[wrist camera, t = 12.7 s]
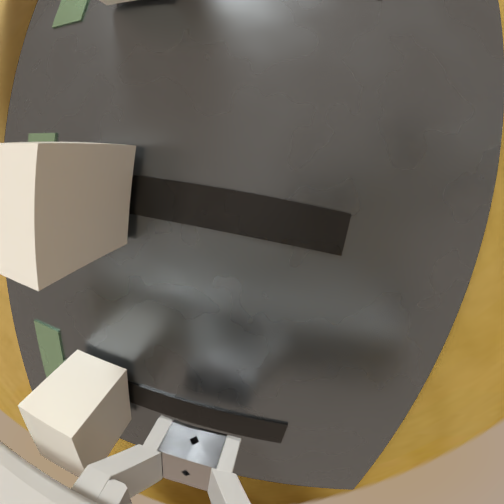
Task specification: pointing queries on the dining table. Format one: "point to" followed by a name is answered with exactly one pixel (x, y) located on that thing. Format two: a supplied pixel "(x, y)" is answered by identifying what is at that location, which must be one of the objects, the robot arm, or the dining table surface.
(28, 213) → the block
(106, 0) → the breaker handle
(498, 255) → the dining table surface
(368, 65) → the breaker panel
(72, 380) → the breaker handle
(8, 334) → the dining table surface
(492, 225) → the dining table surface
